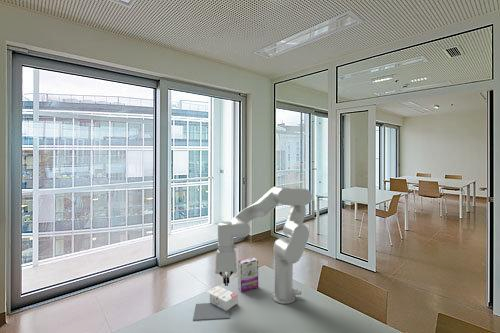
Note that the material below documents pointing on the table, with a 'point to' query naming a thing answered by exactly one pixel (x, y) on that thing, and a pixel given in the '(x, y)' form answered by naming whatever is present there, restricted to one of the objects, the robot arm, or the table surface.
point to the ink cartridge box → (222, 298)
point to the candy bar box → (247, 274)
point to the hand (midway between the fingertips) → (226, 284)
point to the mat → (210, 312)
